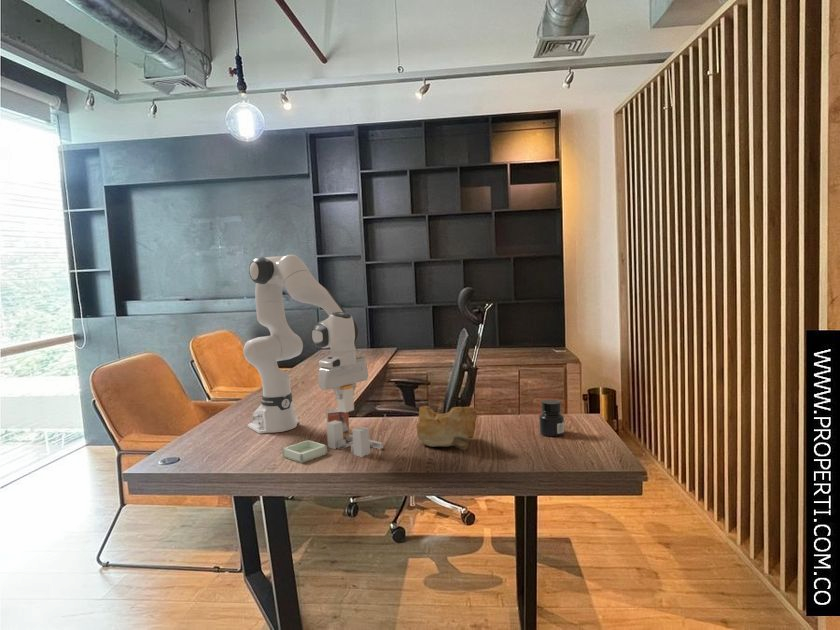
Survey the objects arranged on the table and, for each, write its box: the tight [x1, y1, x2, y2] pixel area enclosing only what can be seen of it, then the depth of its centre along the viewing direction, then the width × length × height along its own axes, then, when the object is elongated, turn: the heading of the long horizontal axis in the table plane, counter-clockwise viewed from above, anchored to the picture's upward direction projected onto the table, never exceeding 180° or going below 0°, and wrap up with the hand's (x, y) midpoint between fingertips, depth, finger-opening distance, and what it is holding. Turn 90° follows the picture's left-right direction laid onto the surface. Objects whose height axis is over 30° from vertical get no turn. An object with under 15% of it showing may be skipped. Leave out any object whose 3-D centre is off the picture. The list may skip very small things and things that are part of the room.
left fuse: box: [326, 420, 344, 450], centre depth 178 cm, size 4×4×9 cm
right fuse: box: [351, 425, 371, 458], centre depth 169 cm, size 4×4×9 cm
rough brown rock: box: [416, 405, 478, 451], centre depth 176 cm, size 23×17×15 cm
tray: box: [282, 439, 328, 464], centre depth 171 cm, size 11×11×3 cm
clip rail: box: [337, 433, 384, 455], centre depth 177 cm, size 18×10×3 cm, turn 49°
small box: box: [325, 408, 350, 439], centre depth 189 cm, size 8×6×10 cm
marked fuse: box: [336, 384, 355, 413], centre depth 173 cm, size 4×4×9 cm
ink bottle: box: [538, 399, 565, 438], centre depth 182 cm, size 10×9×12 cm
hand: (345, 397), depth 173 cm, fingers closed on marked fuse, 4 cm apart
